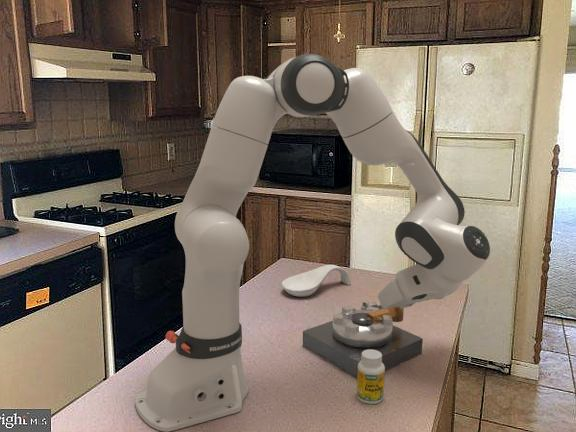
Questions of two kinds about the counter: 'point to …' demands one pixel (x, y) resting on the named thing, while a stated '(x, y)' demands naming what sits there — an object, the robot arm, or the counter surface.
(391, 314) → the rotary crank dial
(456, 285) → the robot arm
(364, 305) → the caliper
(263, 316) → the counter surface
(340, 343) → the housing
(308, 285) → the spoon rest
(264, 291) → the counter surface
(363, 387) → the supplement bottle
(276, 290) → the counter surface
